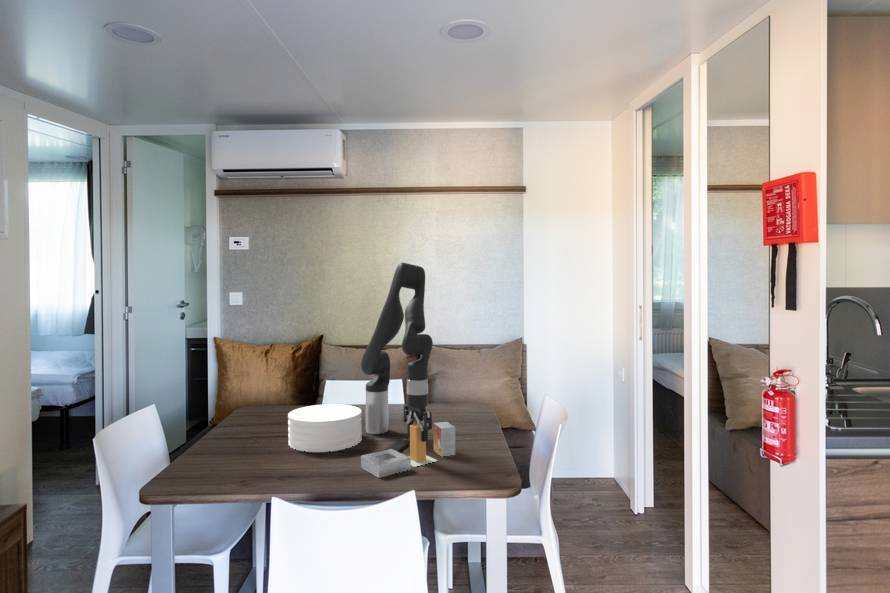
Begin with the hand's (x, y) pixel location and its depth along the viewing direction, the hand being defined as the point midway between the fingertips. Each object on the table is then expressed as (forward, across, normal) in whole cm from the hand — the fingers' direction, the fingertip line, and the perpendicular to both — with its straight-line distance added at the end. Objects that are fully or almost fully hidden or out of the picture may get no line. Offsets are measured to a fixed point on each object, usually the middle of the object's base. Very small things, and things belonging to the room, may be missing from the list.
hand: (417, 438), depth 187 cm
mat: (+8, 0, 0) cm, 8 cm away
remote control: (+9, +18, -4) cm, 20 cm away
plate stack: (+9, +42, +16) cm, 45 cm away
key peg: (+8, 0, 0) cm, 8 cm away
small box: (+8, +1, -12) cm, 15 cm away
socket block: (+8, 0, +13) cm, 15 cm away
